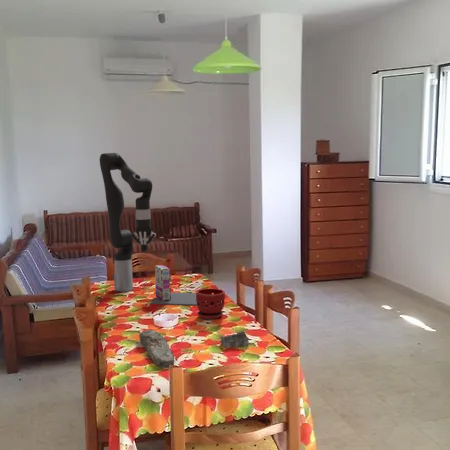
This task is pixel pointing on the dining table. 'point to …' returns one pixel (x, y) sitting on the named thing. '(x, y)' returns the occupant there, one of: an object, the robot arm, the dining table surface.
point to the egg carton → (235, 340)
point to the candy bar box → (162, 282)
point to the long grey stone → (157, 348)
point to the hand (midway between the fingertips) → (144, 251)
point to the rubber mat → (178, 299)
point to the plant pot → (210, 303)
